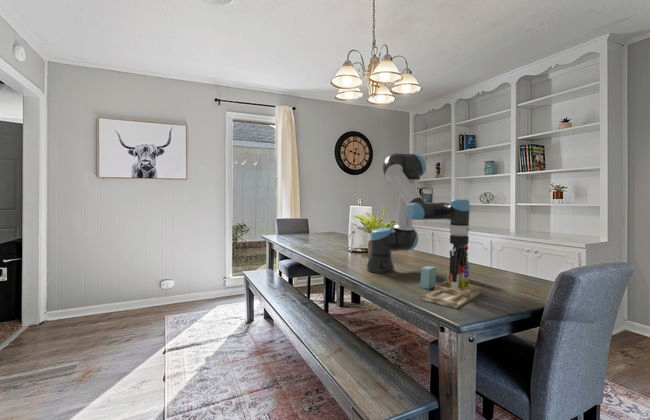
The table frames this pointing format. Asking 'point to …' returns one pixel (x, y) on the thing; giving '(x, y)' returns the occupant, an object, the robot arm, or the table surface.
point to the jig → (451, 295)
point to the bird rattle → (461, 279)
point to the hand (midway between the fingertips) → (457, 287)
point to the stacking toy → (467, 268)
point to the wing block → (428, 277)
